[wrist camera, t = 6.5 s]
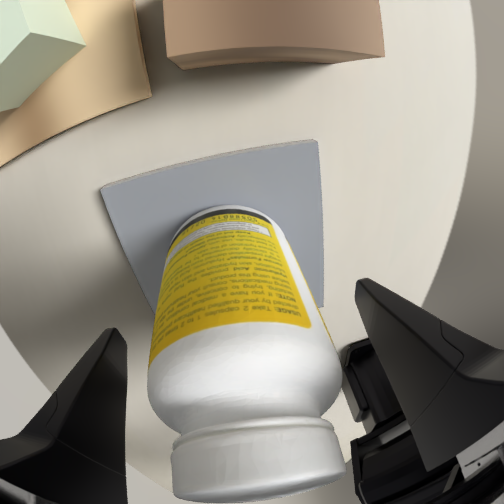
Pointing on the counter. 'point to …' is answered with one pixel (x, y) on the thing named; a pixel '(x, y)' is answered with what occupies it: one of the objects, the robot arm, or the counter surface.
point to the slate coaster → (217, 194)
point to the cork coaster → (83, 78)
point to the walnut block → (271, 31)
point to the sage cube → (33, 46)
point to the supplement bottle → (242, 364)
